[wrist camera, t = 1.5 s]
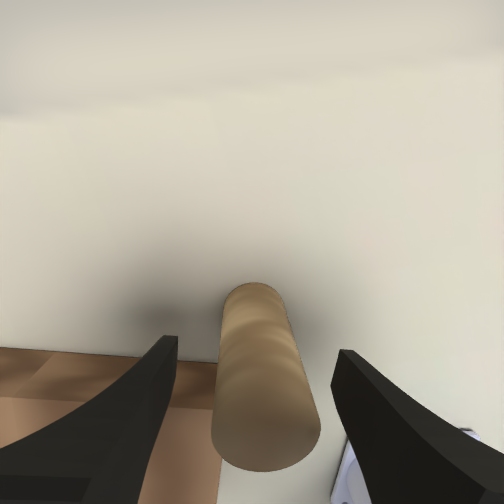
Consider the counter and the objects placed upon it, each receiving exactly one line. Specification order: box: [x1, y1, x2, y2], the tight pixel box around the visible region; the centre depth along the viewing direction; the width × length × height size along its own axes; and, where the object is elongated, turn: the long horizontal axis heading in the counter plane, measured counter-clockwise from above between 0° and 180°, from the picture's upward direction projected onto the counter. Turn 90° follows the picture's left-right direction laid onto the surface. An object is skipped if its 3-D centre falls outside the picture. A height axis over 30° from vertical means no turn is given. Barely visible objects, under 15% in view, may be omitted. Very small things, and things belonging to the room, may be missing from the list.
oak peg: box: [211, 283, 321, 472], centre depth 13 cm, size 4×4×8 cm
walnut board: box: [0, 348, 222, 504], centre depth 17 cm, size 16×12×4 cm
